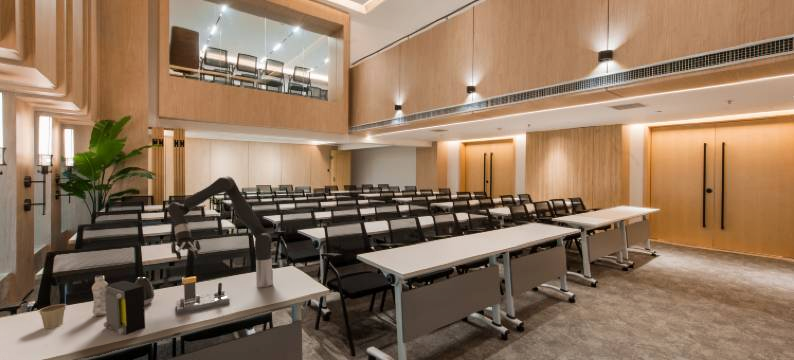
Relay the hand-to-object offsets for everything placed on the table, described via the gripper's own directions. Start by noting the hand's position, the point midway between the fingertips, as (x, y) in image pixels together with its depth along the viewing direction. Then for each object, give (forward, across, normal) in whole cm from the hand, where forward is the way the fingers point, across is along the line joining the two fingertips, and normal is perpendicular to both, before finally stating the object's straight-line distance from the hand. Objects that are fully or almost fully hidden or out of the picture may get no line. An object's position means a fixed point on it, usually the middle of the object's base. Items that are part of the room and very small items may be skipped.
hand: (188, 258), depth 191 cm
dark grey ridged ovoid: (+13, -15, +26) cm, 33 cm away
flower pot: (+12, -49, +33) cm, 60 cm away
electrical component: (+29, -30, +7) cm, 42 cm away
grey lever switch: (+28, +3, +2) cm, 28 cm away
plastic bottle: (+13, -32, +29) cm, 45 cm away
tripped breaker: (+23, -3, +1) cm, 23 cm away
